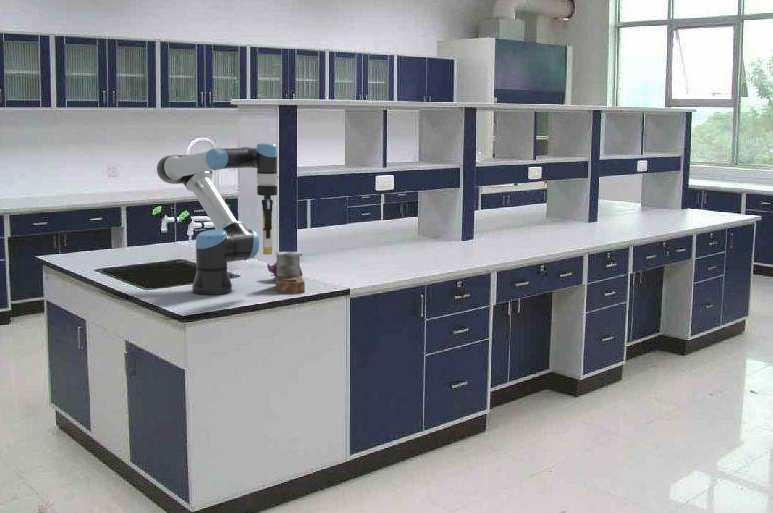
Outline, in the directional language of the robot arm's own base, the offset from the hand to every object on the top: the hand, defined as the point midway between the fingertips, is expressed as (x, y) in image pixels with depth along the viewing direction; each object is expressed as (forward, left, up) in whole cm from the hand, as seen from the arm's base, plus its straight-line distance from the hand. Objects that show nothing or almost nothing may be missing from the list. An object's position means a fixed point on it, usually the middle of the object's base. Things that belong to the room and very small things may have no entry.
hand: (267, 245), depth 321 cm
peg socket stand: (+9, +6, -18) cm, 21 cm away
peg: (0, 0, -3) cm, 3 cm away
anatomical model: (+10, +25, -19) cm, 33 cm away
